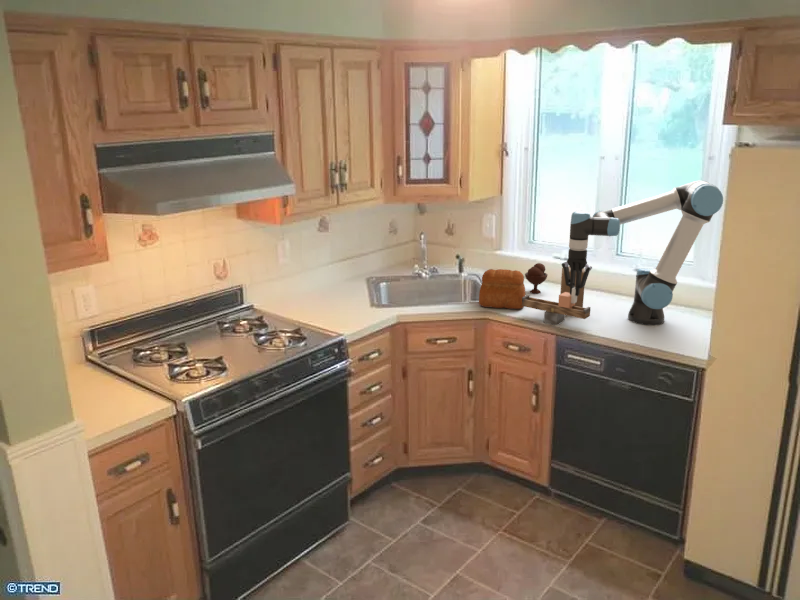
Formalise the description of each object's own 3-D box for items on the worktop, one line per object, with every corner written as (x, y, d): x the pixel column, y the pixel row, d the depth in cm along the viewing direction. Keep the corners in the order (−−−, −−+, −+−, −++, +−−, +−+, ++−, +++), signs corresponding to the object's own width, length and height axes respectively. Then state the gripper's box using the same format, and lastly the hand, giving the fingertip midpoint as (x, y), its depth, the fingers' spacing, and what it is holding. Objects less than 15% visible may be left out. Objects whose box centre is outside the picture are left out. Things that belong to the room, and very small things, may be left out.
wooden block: (582, 314, 310) (585, 272, 304) (559, 313, 312) (562, 271, 306) (581, 308, 319) (584, 266, 313) (559, 306, 321) (562, 265, 315)
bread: (523, 311, 315) (525, 276, 310) (477, 308, 319) (478, 274, 314) (525, 300, 331) (527, 267, 326) (481, 298, 336) (482, 264, 331)
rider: (574, 307, 296) (575, 293, 294) (568, 310, 292) (569, 297, 290) (564, 305, 299) (565, 291, 297) (558, 308, 295) (558, 295, 293)
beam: (590, 326, 295) (591, 306, 292) (582, 331, 289) (584, 310, 286) (528, 312, 313) (529, 294, 310) (519, 317, 307) (520, 298, 304)
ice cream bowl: (532, 288, 352) (534, 259, 347) (550, 292, 344) (552, 263, 339) (519, 292, 345) (521, 263, 340) (537, 296, 337) (539, 267, 333)
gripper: (596, 249, 285) (591, 303, 292) (567, 245, 292) (563, 297, 299) (589, 252, 279) (584, 307, 286) (559, 248, 287) (555, 301, 294)
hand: (573, 302), depth 293 cm, fingers closed
